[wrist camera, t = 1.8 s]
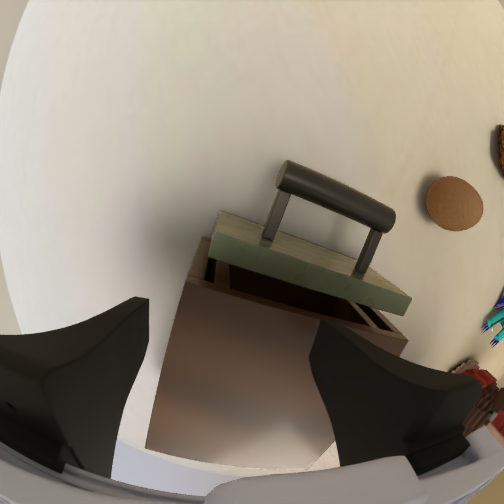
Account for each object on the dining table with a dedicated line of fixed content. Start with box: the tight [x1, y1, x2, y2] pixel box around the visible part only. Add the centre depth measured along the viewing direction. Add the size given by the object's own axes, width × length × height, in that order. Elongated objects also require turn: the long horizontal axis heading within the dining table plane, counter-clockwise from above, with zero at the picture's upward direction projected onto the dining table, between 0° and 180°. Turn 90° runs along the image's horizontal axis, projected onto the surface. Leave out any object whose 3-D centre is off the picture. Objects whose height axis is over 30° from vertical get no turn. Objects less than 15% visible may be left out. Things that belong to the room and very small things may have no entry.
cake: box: [451, 359, 504, 448], centre depth 20 cm, size 11×9×18 cm
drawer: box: [207, 160, 412, 329], centre depth 17 cm, size 17×11×7 cm
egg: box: [426, 176, 483, 231], centre depth 17 cm, size 4×4×6 cm
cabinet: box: [145, 237, 408, 470], centre depth 18 cm, size 14×13×9 cm
